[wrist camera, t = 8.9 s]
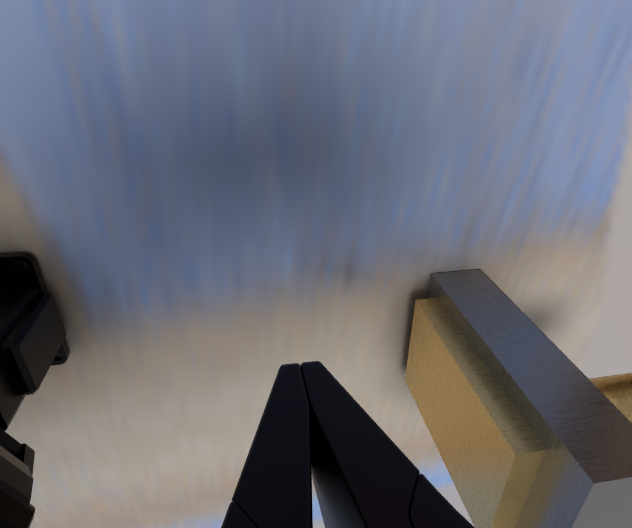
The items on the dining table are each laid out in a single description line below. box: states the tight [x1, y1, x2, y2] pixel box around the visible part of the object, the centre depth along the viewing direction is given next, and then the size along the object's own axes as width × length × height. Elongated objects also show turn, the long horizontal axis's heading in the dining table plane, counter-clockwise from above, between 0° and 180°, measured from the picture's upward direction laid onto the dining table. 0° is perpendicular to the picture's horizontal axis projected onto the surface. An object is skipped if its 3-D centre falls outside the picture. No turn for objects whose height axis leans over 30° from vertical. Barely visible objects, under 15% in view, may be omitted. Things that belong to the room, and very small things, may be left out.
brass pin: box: [405, 298, 632, 528], centre depth 22 cm, size 10×6×10 cm, turn 90°
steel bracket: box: [428, 269, 632, 528], centre depth 21 cm, size 3×8×13 cm, turn 0°
